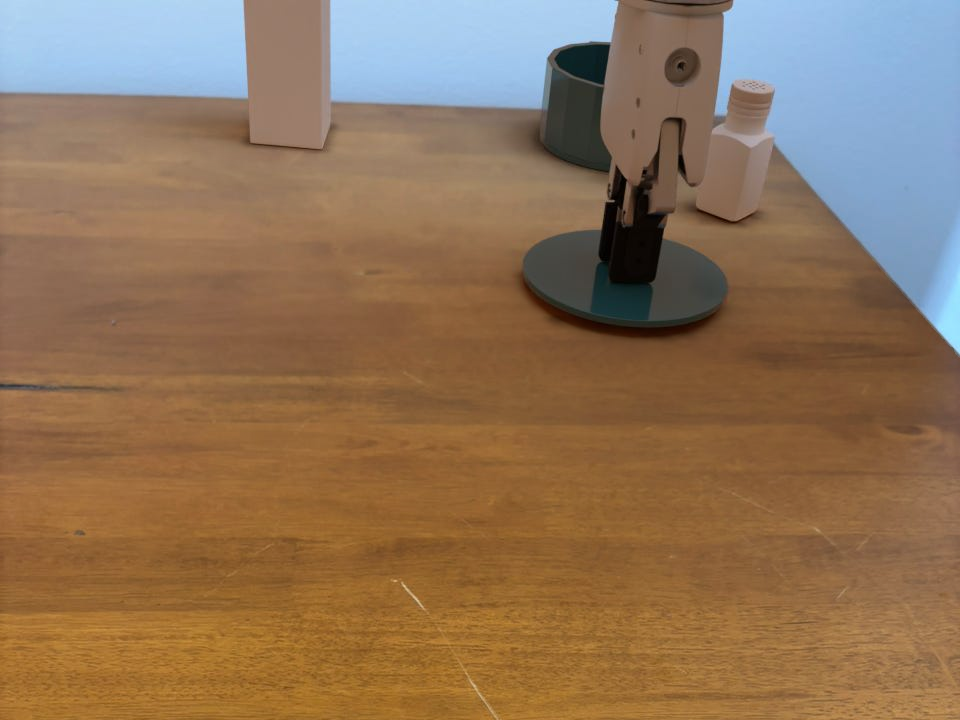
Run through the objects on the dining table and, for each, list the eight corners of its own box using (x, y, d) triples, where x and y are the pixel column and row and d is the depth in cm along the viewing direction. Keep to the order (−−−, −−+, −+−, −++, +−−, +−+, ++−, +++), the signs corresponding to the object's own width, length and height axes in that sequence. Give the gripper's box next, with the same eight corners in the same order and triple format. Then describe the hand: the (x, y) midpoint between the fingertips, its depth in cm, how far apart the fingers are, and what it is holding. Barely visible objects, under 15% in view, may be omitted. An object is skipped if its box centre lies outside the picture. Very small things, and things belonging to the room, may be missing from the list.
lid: (693, 244, 88) (708, 169, 85) (751, 336, 78) (771, 254, 74) (506, 242, 86) (513, 165, 83) (540, 336, 76) (549, 252, 72)
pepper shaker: (691, 209, 94) (716, 83, 88) (717, 197, 96) (744, 73, 90) (734, 225, 92) (763, 98, 86) (760, 212, 95) (790, 87, 88)
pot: (661, 111, 111) (674, 36, 107) (716, 188, 98) (733, 106, 94) (523, 105, 109) (531, 29, 105) (560, 184, 96) (571, 100, 92)
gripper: (778, 12, 64) (710, 326, 76) (698, -59, 76) (650, 223, 88) (644, 6, 63) (596, 326, 75) (583, -65, 74) (551, 221, 87)
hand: (626, 268), depth 81 cm, fingers closed on lid, 2 cm apart
